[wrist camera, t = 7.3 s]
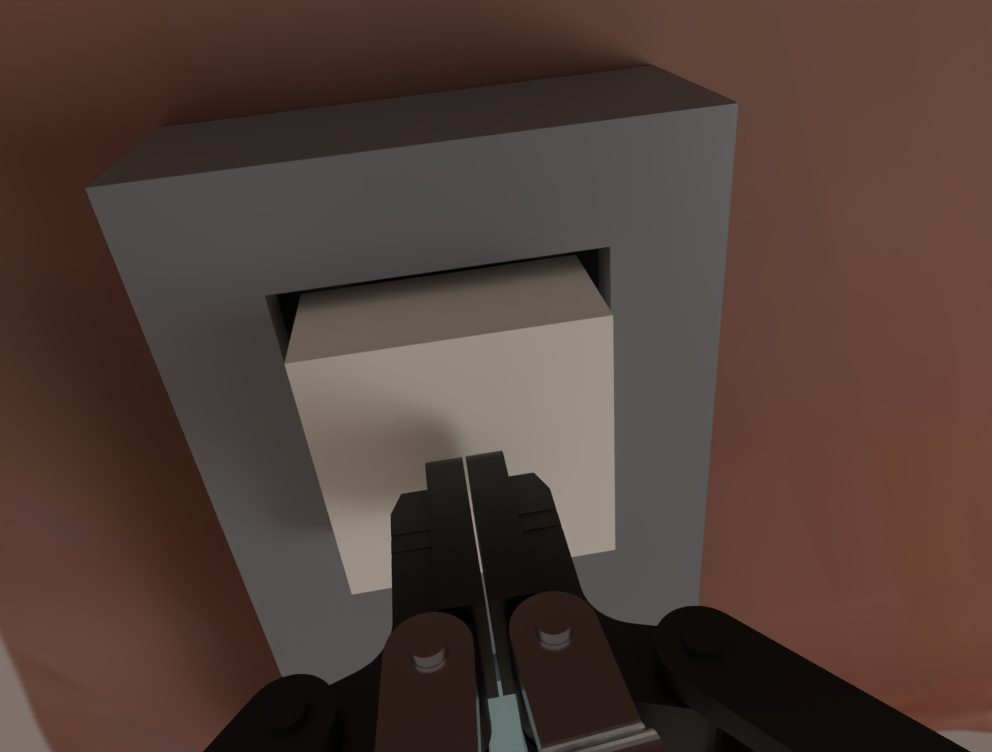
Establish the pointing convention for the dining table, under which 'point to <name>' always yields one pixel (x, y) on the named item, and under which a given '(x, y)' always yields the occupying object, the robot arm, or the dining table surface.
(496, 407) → the cream key
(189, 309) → the key box
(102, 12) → the dining table surface
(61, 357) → the dining table surface
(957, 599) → the dining table surface
